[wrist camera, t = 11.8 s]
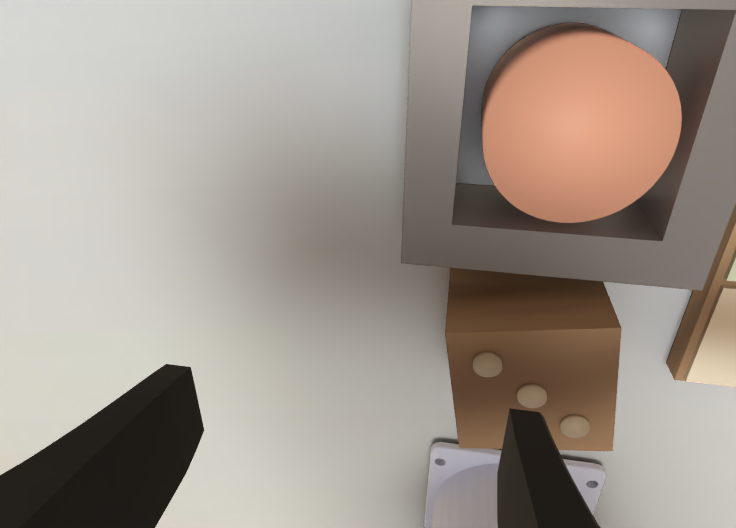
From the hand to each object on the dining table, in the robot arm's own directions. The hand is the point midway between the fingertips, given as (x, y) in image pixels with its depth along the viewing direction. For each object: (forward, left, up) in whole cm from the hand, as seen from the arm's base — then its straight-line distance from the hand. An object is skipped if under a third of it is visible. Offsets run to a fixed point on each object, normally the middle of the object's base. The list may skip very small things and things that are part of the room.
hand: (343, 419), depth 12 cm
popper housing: (+5, -5, -10) cm, 12 cm away
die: (-3, -5, -10) cm, 11 cm away
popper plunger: (+5, -5, -9) cm, 12 cm away
